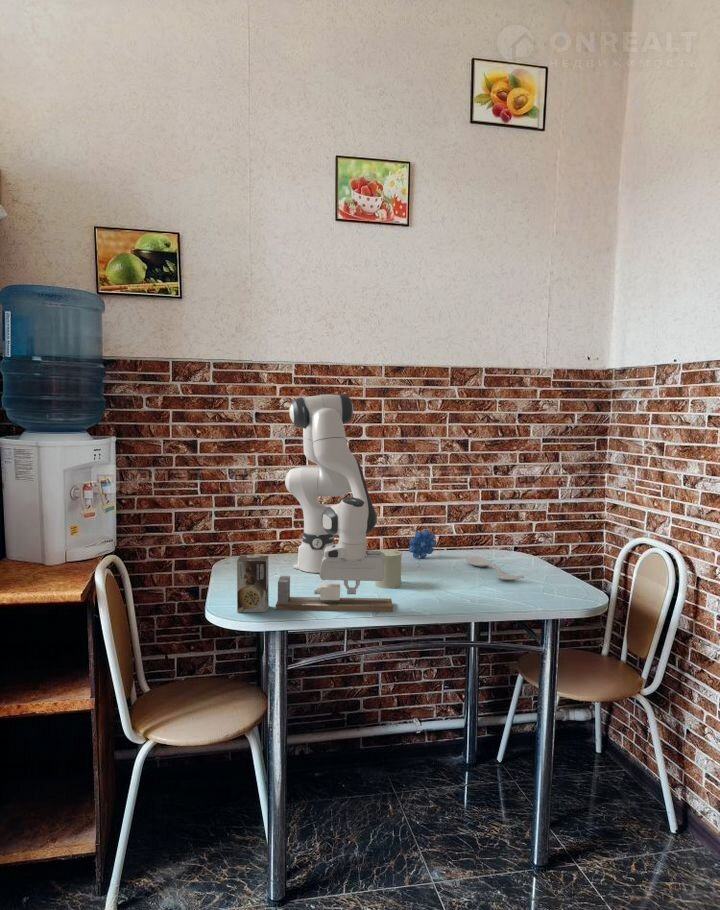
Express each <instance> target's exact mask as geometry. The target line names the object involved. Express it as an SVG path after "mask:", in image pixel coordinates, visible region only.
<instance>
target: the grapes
mask: <svg viewBox="0 0 720 910" xmlns="http://www.w3.org/2000/svg"><path fill="white" fill-rule="evenodd" d="M435 538H436V535H435V533H434V532H430V530H428V529H424V530H423V531H422V532H421V531H417V532H415V533H414V537H412V538H411V539H410V540H409V544H410V546H409V548H408V552H409V553H412V556H413V559H414V558H416V559H417V558H421V559H425V558H427V556H428V555H431V554H432V553H433V552H434V547H435V546H437V540H436V539H435Z"/></svg>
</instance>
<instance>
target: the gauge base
mask: <svg viewBox="0 0 720 910" xmlns="http://www.w3.org/2000/svg"><path fill="white" fill-rule="evenodd" d="M329 601H331V604H329ZM275 610H276V611H277V610H280V611H282V610H284V611H288V610H289V611H337V612H338V611H339V612H342V611H343V612H389V613H391V612H394V606H393V600H392V598H381V597H380V598H378V597H376V598H375V597H340V600H320V596H319V597H317V596H291V576H290V575H280V576H279V578H278V581H277V600H276V603H275Z"/></svg>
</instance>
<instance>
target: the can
mask: <svg viewBox="0 0 720 910" xmlns="http://www.w3.org/2000/svg"><path fill="white" fill-rule="evenodd" d="M378 551H381V552H382V553H384V554H385V556H386V562H385V564H384V565H383V566H384V579H383V580H382V581H374V583H375V584H374V585H375V586H376V587H378V588H382V589H396V588H400V587H401V586H402V582H401V581H402V554H403V553H402V551H400V550H395V549H380V550H378Z"/></svg>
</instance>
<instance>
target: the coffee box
mask: <svg viewBox="0 0 720 910" xmlns="http://www.w3.org/2000/svg"><path fill="white" fill-rule="evenodd" d="M269 593H270V592H269V555H239V557H238V559H237V560H236V597H237V598H236V603H237V604H236V607H237V609H236V612H237V613H267V612H268V610H269V606H270V605H269V602H270V601H269V600H270V599H269V596H270V595H269Z"/></svg>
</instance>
